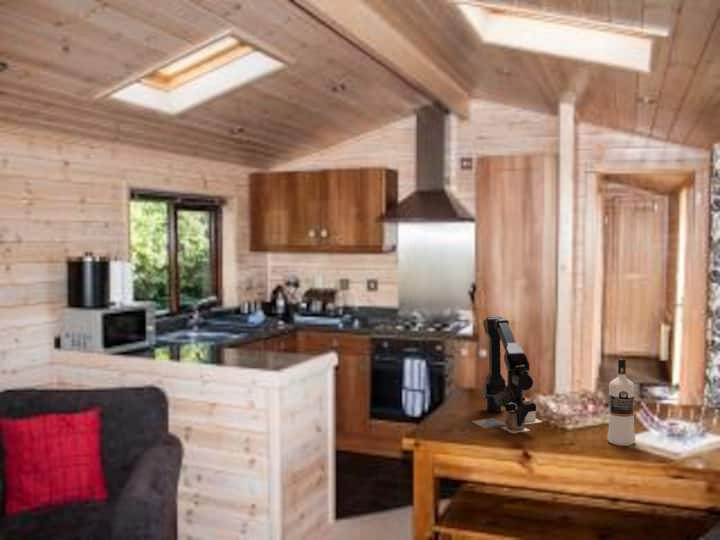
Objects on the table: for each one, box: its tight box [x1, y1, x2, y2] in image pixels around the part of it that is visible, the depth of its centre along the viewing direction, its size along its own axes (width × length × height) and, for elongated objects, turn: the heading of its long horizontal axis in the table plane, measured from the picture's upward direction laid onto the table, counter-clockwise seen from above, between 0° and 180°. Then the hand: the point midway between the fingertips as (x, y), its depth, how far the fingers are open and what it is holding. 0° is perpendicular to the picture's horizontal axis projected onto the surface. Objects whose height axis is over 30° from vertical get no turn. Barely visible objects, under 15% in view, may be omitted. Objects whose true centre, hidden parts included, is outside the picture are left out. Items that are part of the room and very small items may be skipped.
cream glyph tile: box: [500, 426, 531, 434], centre depth 252 cm, size 8×8×1 cm
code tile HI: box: [525, 418, 543, 425], centre depth 262 cm, size 8×8×1 cm
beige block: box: [525, 410, 537, 422], centre depth 262 cm, size 4×4×6 cm
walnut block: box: [505, 410, 526, 430], centre depth 252 cm, size 5×5×6 cm
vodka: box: [606, 357, 636, 447], centre depth 234 cm, size 9×9×30 cm
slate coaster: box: [471, 417, 506, 429], centre depth 259 cm, size 10×10×1 cm
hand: (515, 424), depth 252 cm, fingers closed on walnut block, 5 cm apart
